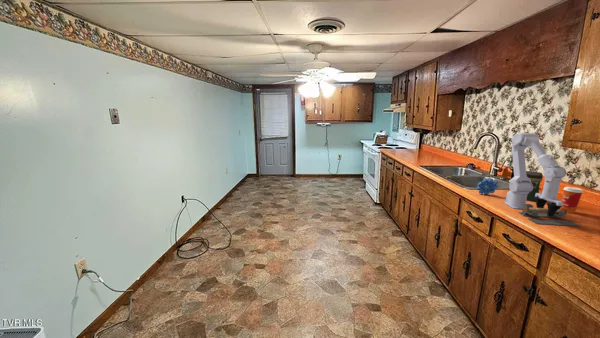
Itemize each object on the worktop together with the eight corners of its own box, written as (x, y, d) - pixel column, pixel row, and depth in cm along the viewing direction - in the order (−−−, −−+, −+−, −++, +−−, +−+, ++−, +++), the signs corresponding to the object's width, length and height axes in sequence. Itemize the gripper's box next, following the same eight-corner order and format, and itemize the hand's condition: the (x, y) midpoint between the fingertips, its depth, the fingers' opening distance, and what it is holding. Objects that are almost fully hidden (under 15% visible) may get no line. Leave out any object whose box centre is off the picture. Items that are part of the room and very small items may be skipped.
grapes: (495, 194, 170) (499, 178, 167) (496, 197, 164) (500, 180, 162) (475, 191, 176) (478, 175, 173) (475, 194, 171) (478, 177, 168)
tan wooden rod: (527, 212, 132) (527, 207, 132) (523, 211, 135) (523, 206, 135) (566, 214, 130) (566, 209, 130) (562, 213, 132) (562, 208, 132)
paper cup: (556, 208, 147) (562, 185, 144) (575, 211, 142) (582, 188, 139) (559, 211, 141) (565, 188, 138) (578, 215, 136) (585, 191, 133)
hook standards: (518, 213, 138) (521, 203, 137) (554, 215, 136) (557, 205, 135) (528, 218, 132) (530, 207, 130) (566, 220, 129) (569, 209, 128)
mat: (527, 219, 131) (527, 218, 131) (570, 221, 128) (570, 220, 128) (536, 224, 125) (536, 223, 125) (581, 226, 123) (581, 225, 122)
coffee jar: (536, 199, 162) (542, 171, 158) (538, 202, 156) (545, 174, 152) (517, 196, 168) (522, 169, 163) (518, 199, 161) (524, 171, 157)
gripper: (531, 185, 137) (526, 208, 140) (554, 193, 123) (547, 218, 126) (545, 185, 136) (540, 208, 139) (570, 194, 122) (563, 219, 125)
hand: (544, 213), depth 132 cm, fingers open, 6 cm apart
